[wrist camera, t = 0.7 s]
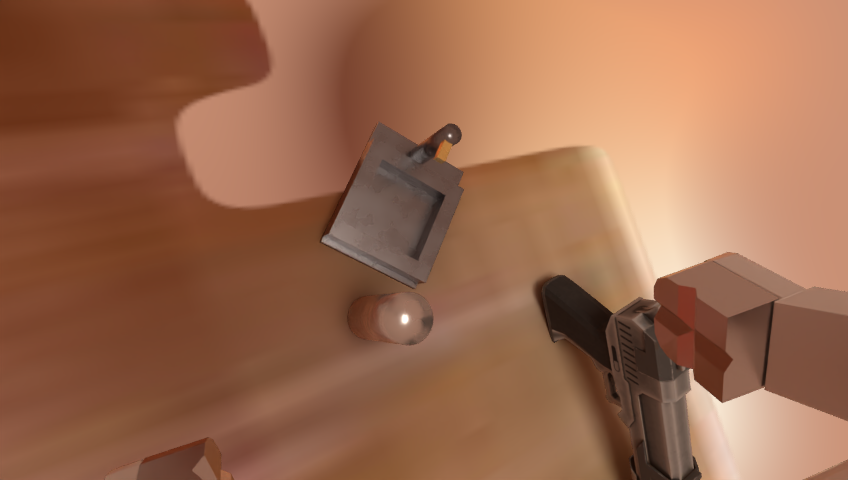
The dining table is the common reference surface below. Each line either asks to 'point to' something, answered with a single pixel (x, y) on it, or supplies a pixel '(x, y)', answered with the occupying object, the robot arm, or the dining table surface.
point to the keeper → (398, 204)
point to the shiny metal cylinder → (391, 318)
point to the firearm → (630, 375)
